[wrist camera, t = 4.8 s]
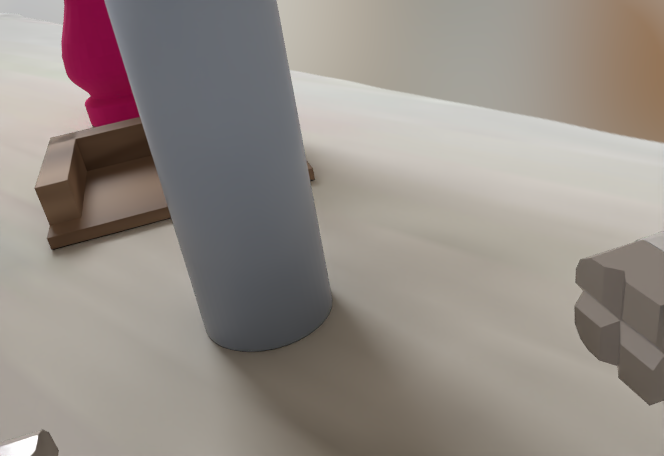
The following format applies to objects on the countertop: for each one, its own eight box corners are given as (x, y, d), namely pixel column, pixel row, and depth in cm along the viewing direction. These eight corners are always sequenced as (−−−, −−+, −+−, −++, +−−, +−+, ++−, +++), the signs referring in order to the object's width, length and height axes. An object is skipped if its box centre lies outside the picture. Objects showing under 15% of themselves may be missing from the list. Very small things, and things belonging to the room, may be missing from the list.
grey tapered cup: (298, 360, 20) (204, -52, 14) (179, 341, 22) (55, -29, 16) (351, 280, 24) (292, -75, 18) (245, 269, 25) (161, -54, 20)
